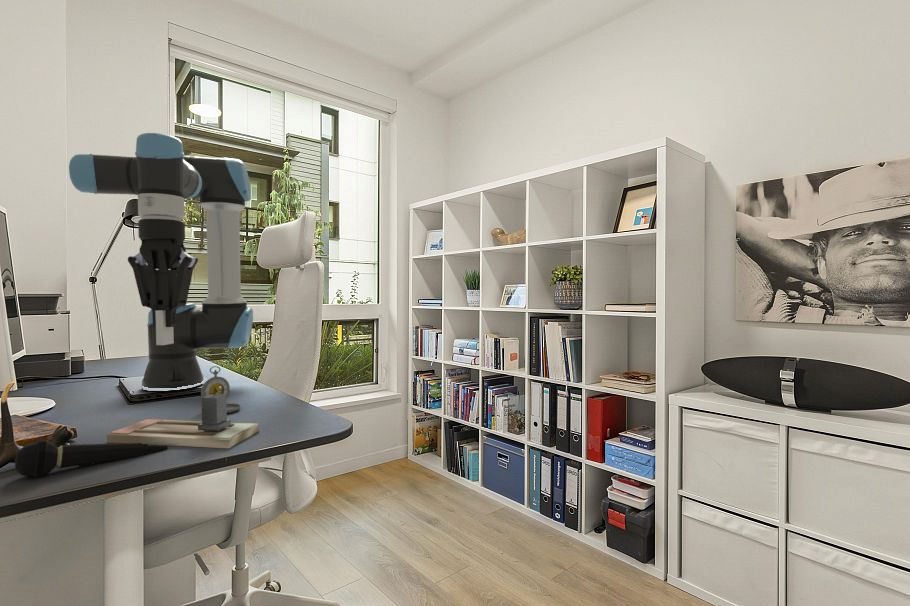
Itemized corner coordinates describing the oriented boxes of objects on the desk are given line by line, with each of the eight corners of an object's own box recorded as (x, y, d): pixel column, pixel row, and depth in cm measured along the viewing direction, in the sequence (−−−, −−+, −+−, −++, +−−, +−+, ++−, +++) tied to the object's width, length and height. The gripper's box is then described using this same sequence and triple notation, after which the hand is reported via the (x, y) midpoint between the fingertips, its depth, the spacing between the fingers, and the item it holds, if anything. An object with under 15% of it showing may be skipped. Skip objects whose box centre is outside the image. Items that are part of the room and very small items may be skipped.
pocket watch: (232, 415, 107) (231, 370, 107) (194, 415, 107) (193, 370, 107) (248, 406, 116) (247, 364, 115) (212, 405, 116) (212, 364, 115)
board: (148, 426, 99) (148, 417, 98) (258, 431, 96) (258, 421, 95) (106, 442, 89) (106, 432, 89) (228, 448, 86) (228, 437, 86)
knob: (211, 424, 93) (210, 393, 93) (230, 424, 93) (230, 394, 93) (197, 430, 90) (197, 398, 89) (218, 431, 89) (217, 398, 89)
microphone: (162, 465, 86) (11, 481, 73) (163, 432, 88) (16, 442, 74) (170, 463, 83) (13, 480, 69) (172, 429, 84) (18, 439, 71)
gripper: (114, 217, 88) (118, 346, 89) (179, 216, 86) (183, 347, 88) (145, 222, 96) (148, 340, 97) (206, 221, 94) (209, 342, 95)
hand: (165, 344), depth 92 cm, fingers closed
